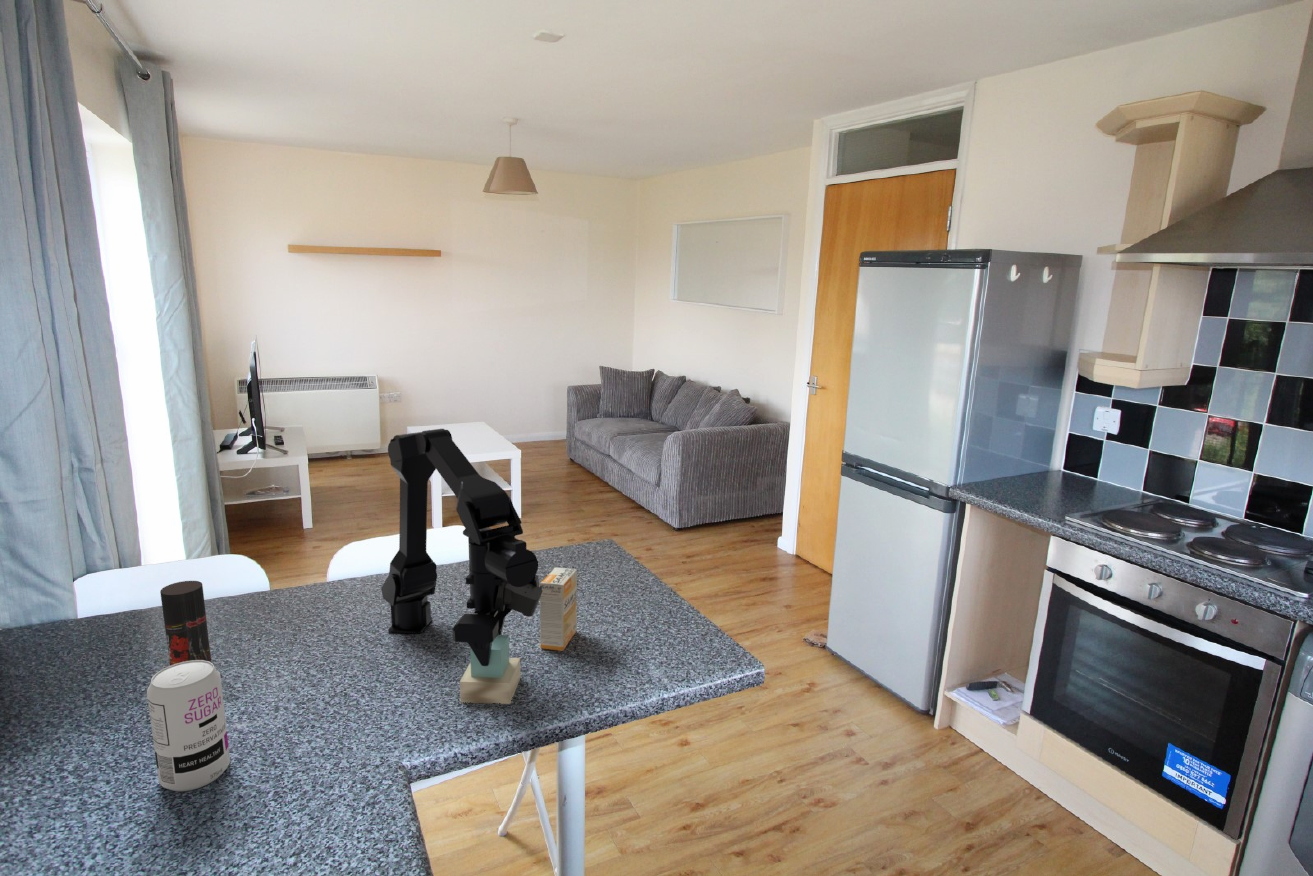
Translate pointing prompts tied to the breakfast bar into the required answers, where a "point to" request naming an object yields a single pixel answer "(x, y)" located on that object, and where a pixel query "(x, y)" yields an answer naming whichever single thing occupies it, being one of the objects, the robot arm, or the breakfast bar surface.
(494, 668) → the teal cube
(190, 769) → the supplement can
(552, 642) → the supplement box
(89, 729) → the breakfast bar surface
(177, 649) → the deodorant
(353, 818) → the breakfast bar surface
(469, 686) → the beech block
